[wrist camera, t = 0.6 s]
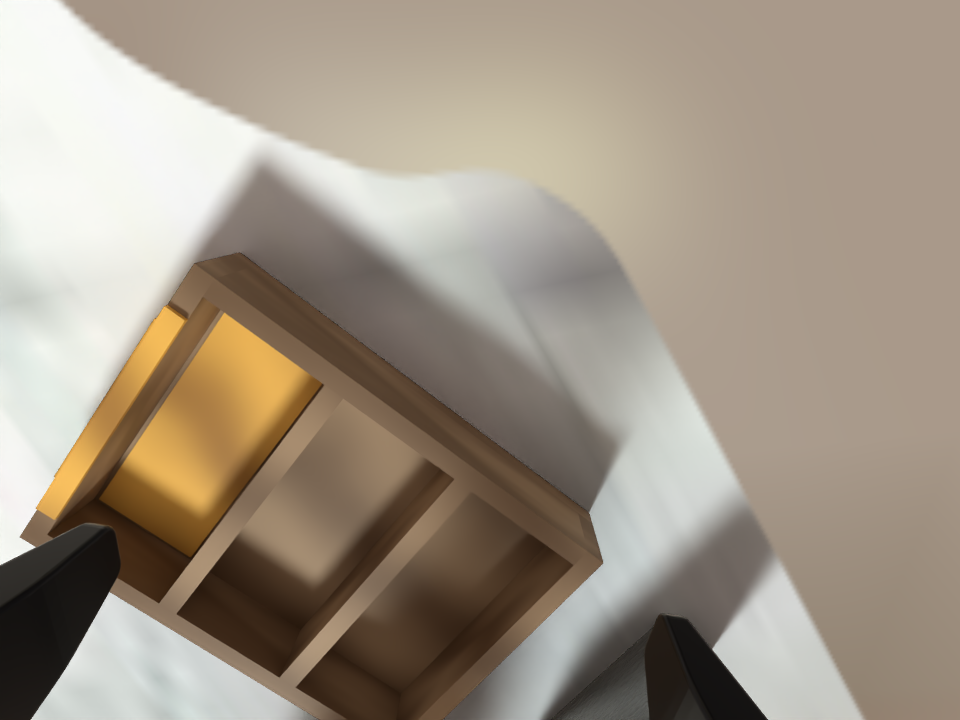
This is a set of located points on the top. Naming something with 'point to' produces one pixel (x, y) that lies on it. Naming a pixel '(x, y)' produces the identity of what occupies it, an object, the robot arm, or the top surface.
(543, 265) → the top surface
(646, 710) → the block
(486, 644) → the rack
